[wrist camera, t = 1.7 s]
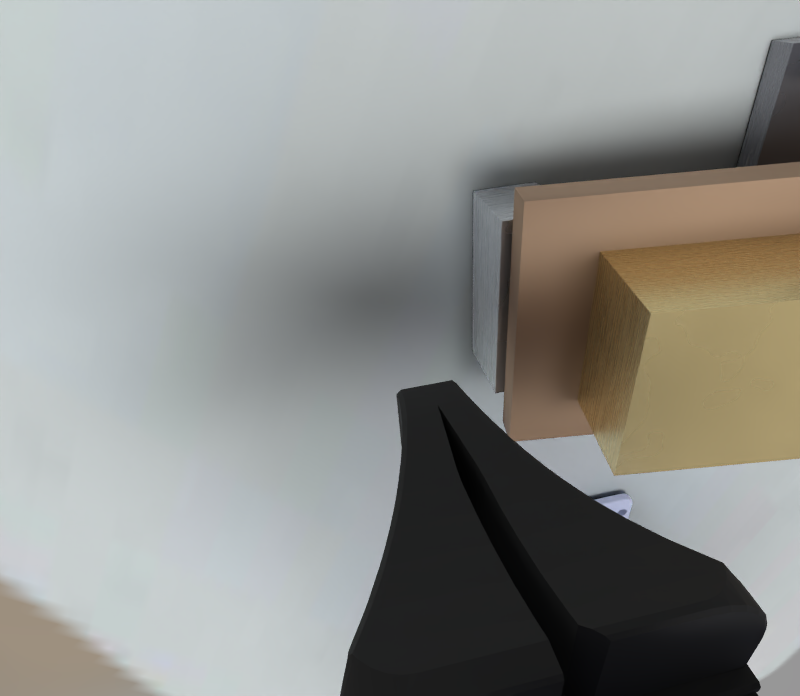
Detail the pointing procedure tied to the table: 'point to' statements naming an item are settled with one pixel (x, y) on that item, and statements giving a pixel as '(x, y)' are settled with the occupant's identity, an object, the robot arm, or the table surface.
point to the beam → (579, 256)
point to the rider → (695, 355)
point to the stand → (493, 208)
